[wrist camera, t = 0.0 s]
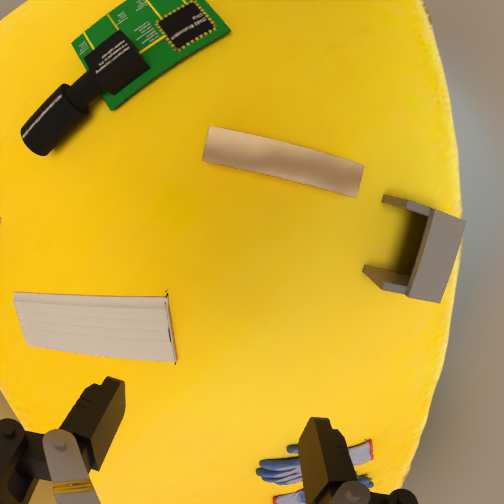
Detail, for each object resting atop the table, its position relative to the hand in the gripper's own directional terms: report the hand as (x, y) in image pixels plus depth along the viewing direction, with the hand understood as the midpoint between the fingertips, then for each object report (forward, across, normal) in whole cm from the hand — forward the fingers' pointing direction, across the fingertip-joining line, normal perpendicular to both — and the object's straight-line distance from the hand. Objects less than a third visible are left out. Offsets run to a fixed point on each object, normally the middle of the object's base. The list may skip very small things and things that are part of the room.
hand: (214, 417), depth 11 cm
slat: (+30, -3, -12) cm, 32 cm away
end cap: (+29, -22, -6) cm, 37 cm away
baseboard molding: (+30, +22, +17) cm, 41 cm away
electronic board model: (+30, +23, -23) cm, 44 cm away
